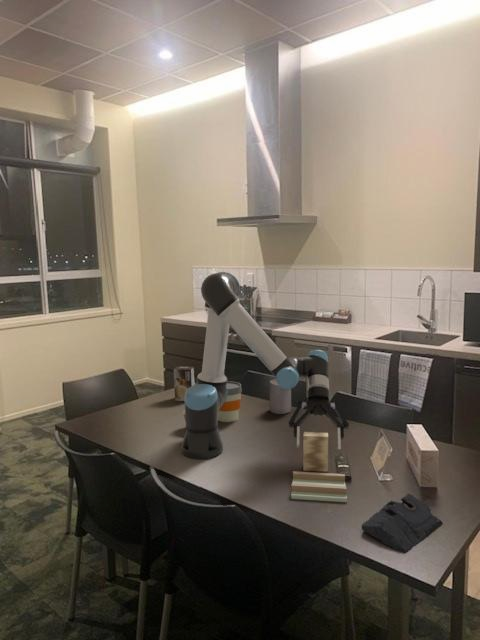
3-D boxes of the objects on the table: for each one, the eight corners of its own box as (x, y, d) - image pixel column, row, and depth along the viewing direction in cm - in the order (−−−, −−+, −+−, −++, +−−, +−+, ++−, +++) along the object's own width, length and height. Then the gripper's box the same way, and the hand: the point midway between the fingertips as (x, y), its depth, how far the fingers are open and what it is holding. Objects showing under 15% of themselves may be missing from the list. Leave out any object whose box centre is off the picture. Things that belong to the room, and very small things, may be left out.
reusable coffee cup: (247, 416, 214) (247, 383, 212) (231, 425, 204) (231, 390, 202) (224, 412, 221) (223, 379, 219) (207, 420, 211) (206, 386, 208)
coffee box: (195, 397, 243) (194, 366, 241) (192, 401, 237) (191, 369, 235) (178, 397, 245) (176, 365, 243) (174, 401, 239) (173, 369, 236)
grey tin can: (270, 406, 227) (270, 375, 225) (291, 407, 226) (291, 376, 224) (269, 414, 218) (268, 381, 215) (291, 414, 216) (290, 381, 214)
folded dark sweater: (351, 532, 127) (351, 514, 126) (394, 501, 142) (395, 486, 141) (405, 558, 116) (406, 539, 115) (447, 522, 130) (447, 505, 130)
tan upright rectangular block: (303, 470, 161) (303, 435, 160) (303, 465, 165) (303, 431, 163) (327, 471, 160) (328, 436, 158) (327, 467, 164) (327, 432, 162)
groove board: (291, 498, 143) (291, 489, 143) (293, 477, 157) (293, 468, 156) (346, 502, 141) (346, 492, 140) (344, 479, 154) (344, 470, 154)
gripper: (353, 395, 176) (356, 452, 163) (283, 394, 179) (281, 449, 167) (354, 385, 170) (357, 443, 157) (282, 384, 173) (280, 441, 161)
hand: (318, 447), depth 162 cm, fingers open, 13 cm apart
